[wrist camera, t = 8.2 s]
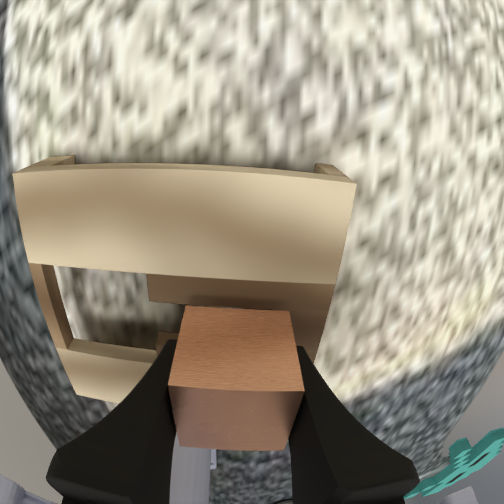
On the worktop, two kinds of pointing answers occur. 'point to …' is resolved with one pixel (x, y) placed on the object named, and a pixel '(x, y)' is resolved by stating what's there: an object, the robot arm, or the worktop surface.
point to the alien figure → (462, 462)
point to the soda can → (286, 502)
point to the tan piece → (182, 246)
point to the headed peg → (235, 379)
